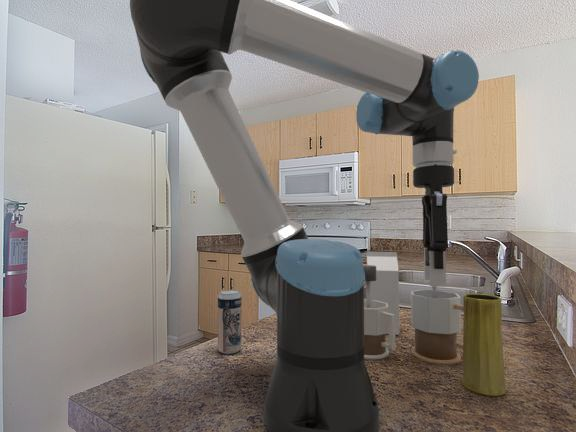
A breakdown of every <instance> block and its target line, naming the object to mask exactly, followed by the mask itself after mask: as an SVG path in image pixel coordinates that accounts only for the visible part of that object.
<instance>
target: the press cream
mask: <svg viewBox="0 0 576 432" xmlns="http://www.w3.org/2000/svg"><path fill="white" fill-rule="evenodd" d="M363 267H364V272H365V299H364V360H371V361H372V360H373V361H374V360H375V361H376V360H378V361H379V360H383V359H385V358H388V357H389V356H390V350H391V351H395V350H396V335H395V315H394V314H390V313H388V303H384V302H380V301H375V300H371V281H376V266H373V265H367V264H363ZM388 318H389V332H388ZM386 333H389V334H388V342H387V339H386V337H387V336H386V335H387V334H386Z"/></svg>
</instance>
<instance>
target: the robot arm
mask: <svg viewBox="0 0 576 432" xmlns="http://www.w3.org/2000/svg"><path fill="white" fill-rule="evenodd" d="M129 9H130V17H131V21H132V23H133V27H134V30H135V34H136V38H137V42H138V46H139V51H140V58H141V62H142V64H143V67H144V69H145V71H146V73H147V75H148V76H149V78H150V79H151V80H152V82H153V83H154V84H155V86H157V88H158V90H159V92H160V94H161V96H162V99H163V100H164V102H165V104H166V106H167V107H169V108H172V109H174V110H176V111H179V113H180V114H181V115H182V117H183V119H184V121H185V124H186V126H187V128H188V130H189V132H190V134H191V136H192V138H193V140H194V142H195V144H196V146H197V148H198V151H199V152H200V154H201V157H202V158H203V160H204V163H205V165H206V167H207V168H208V170H209V172H210V175H211V176H212V178H213V180H214V183H215V185H216V186H217V189H218V191H219V194H220V195H221V197H222V198H223V199H222V200H223V201H224V203H225V205H226V207H227V208H228V211H229V214H230V215H231V218H232V219H233V222H234V224H235V225H236V227H237V229H238V231H239V233H240V235H241V238H242V240H243V246H242V250H241V252H240V256H241V258H242V260H243V262H244V264H245V266H246V268H247V270H248V272H249V275H250V277H251V282H252V286H253V289H254V291H255V293H256V295H257V296H258V298H259V299H260V300H261V301H262V302H263V303H264V304H266V305H267V306H269V307H270V308H271V309H272V310H273V311H274V312H275V313H276V346H277V348H276V361H275V364H274V367H273V371H272V373H271V377H270V381H269V383H268V388H267V390H266V393H265V395H264V401H263V422H264V426H265V427H266V429H267V431H268V432H378V431H379V429H380V428H379V427H380V421H379V420H380V414H379V413H380V411H379V409H380V408H379V402H378V400H377V397H376V395H375V391H374V388H373V384H372V381H371V378H370V375H369V370H367V366H366V361H365V359H364V300H365V284H366V281H365V272H364V267H363V265H364V258H363V256H362V253H361V250H359V249H358V248H357V247H356V246H354V245H351V244H350V243H346V242H342V241H337V240H335V241H334V240H330V239H329V240H328V239H321V238H320V239H318V238H316V239H315V238H309V237H308V235H307V233H306V230H305V229H304V227H303V224H301V223H299V222H295V221H292V220H291V219H290V217H289V216H288V214H287V210H286V209H285V207H284V205H283V203H282V201H281V198H280V197H279V194H278V192H277V189H276V187H275V186H274V184H273V182H272V180H271V177H270V175H269V173H268V170H267V169H266V167H265V165H264V162H263V160H262V158H261V156H260V154H259V152H258V150H257V147H256V145H255V143H254V141H253V139H252V137H251V135H250V132H249V131H248V128H247V126H246V125H245V122H244V119H243V118H242V116H241V114H240V112H239V109H238V107H237V105H236V103H235V101H234V99H233V96H232V95H231V93H230V85H231V83H232V79H233V75H232V72H231V71H230V68H229V67H228V64H227V62H226V61H225V58H224V56H223V53H224V54H228V55H232V54H234V53H235V52H238V51H243V52H247V53H249V54H253V55H254V56H257V57H258V56H259V57H261V58H264V59H267V60H269V61H272V62H273V61H274V62H277V63H279V64H282V65H285V66H287V67H291V68H294V69H297V70H300V71H303V72H305V73H308V74H311V75H313V76H316V77H319V78H323V79H326V80H328V81H332V82H335V83H337V84H341V85H343V86H346V87H348V88H352V89H355V90H358V91H361V92H364V93H363V95H362V96H361V97H360V99H359V101H358V103H357V107H356V112H355V113H356V114H355V115H356V116H355V117H356V118H355V119H356V120H355V121H356V124H357V126H358V128H359V129H360V131H362V132H364V133H368V134H369V133H370V134H375V135H390V136H391V135H392V136H403V137H404V136H405V137H411V138H412V140H411V141H412V166H413V167H414V169H413V171H412V185H413V187H414V188H418V189H425V194H424V195H423V196H421V205H422V244H423V252H424V253H423V255H424V256H423V257H424V258H423V263H424V264H423V267H424V271H423V273H424V281H425V280H426V281H429V286H430V287H432V286H437V288H438V287H439V288H446V287H447V258H446V257H447V256H446V254H447V252H446V251H447V249H448V248H449V238H448V234H449V233H448V232H449V231H448V211H447V205H448V203H447V199H448V195H447V193H444V192H443V188H448V187H451V186H454V185H455V168H454V167H453V166H452V164H454V162H455V161H454V156H455V155H456V154H457V152H458V150H457V149H455V148H454V112H455V108H456V107H457V106H458V105H461V104H462V103H464V102H466V101H468V100H469V99H470V98H472V97H473V95H474V94H475V93H476V91H477V88H478V84H479V79H480V75H479V68H478V66H477V63H476V62H475V60H474V59H473V57H471V56H470V55H469V54H468V53H467V52H465V51H463V50H460V49H455V50H448V51H445V53H441V54H440V55H438V56H436V58H435V57H432V56H429V55H426V54H424V53H421V52H419V51H416V50H414V49H412V48H409V47H407V46H406V45H405V46H404V45H402V44H401V43H397V42H395V41H392V40H389V39H387V38H384V37H382V36H380V35H377V34H374V33H372V32H369V31H367V30H365V29H362V28H359V27H357V26H355V25H352V24H351V23H350V24H349V23H347V22H345V21H342V20H340V19H337V18H335V17H332V16H330V15H328V14H325V13H323V12H320V11H318V10H316V9H312V8H310V7H308V6H305V5H303V4H300V3H298V2H295V1H293V0H129ZM425 249H427V251H429V256H430V266H426V265H425Z"/></svg>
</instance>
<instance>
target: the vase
mask: <svg viewBox="0 0 576 432" xmlns="http://www.w3.org/2000/svg"><path fill="white" fill-rule="evenodd" d="M462 300H463V306H464V311H463V324H462V325H463V328H462V329H463V331H462V332H463V334H462V335H463V337H462V339H463V340H462V343H463V349H462V371H463V372H462V379H461V384H462V386H463V387H465V388H466V389H467V390H469V391H471V392H473V393H476V394H478V395H482V396H483V395H484V396H488V397H499V396H503V395H505V394H506V392H507V386H506V378H505V377H506V376H505V364H504V347H503V324H502V322H503V321H502V320H503V319H502V316H503V314H502V297H501V296H497V295H494V294H493V295H492V294H487V293H486V294H485V293H477V292H476V293H471V292H470V293H465V294H464V295H463V299H462Z"/></svg>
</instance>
